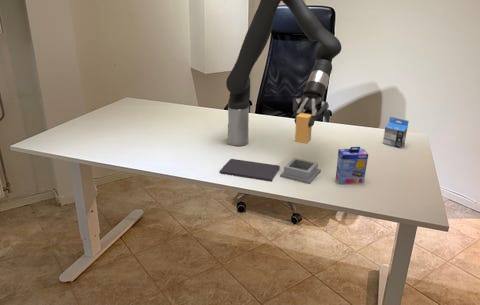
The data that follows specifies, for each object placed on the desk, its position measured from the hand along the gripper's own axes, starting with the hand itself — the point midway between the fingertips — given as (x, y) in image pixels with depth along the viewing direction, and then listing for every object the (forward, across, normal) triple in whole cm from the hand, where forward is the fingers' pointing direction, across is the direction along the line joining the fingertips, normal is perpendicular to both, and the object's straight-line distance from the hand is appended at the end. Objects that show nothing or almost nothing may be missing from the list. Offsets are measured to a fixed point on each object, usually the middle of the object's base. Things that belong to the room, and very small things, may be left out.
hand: (303, 124), depth 145 cm
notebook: (+19, -19, +11) cm, 29 cm away
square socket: (+14, 0, +15) cm, 21 cm away
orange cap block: (+4, 0, +5) cm, 7 cm away
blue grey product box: (-21, +25, +50) cm, 60 cm away
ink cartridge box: (+11, +18, +18) cm, 28 cm away
